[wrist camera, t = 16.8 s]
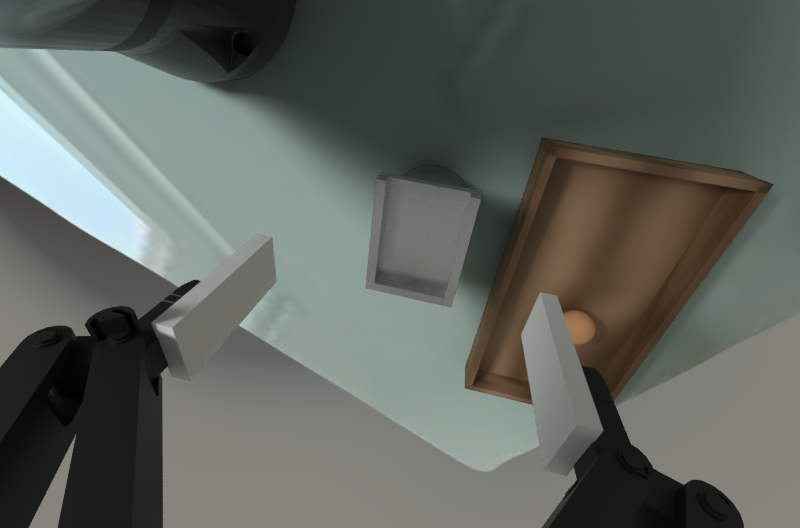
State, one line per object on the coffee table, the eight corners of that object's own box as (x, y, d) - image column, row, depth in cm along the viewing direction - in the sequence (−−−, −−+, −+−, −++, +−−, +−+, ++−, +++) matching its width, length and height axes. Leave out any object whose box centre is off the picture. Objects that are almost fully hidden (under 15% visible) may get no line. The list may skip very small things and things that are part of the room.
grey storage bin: (389, 236, 31) (364, 287, 24) (401, 148, 27) (374, 178, 20) (457, 250, 31) (452, 307, 23) (480, 162, 26) (482, 199, 19)
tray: (465, 366, 38) (464, 388, 35) (542, 137, 25) (550, 146, 22) (590, 395, 36) (599, 420, 34) (741, 171, 23) (773, 184, 21)
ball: (601, 308, 29) (590, 328, 31) (563, 299, 30) (556, 318, 32) (599, 337, 27) (588, 355, 29) (559, 326, 28) (551, 344, 31)
